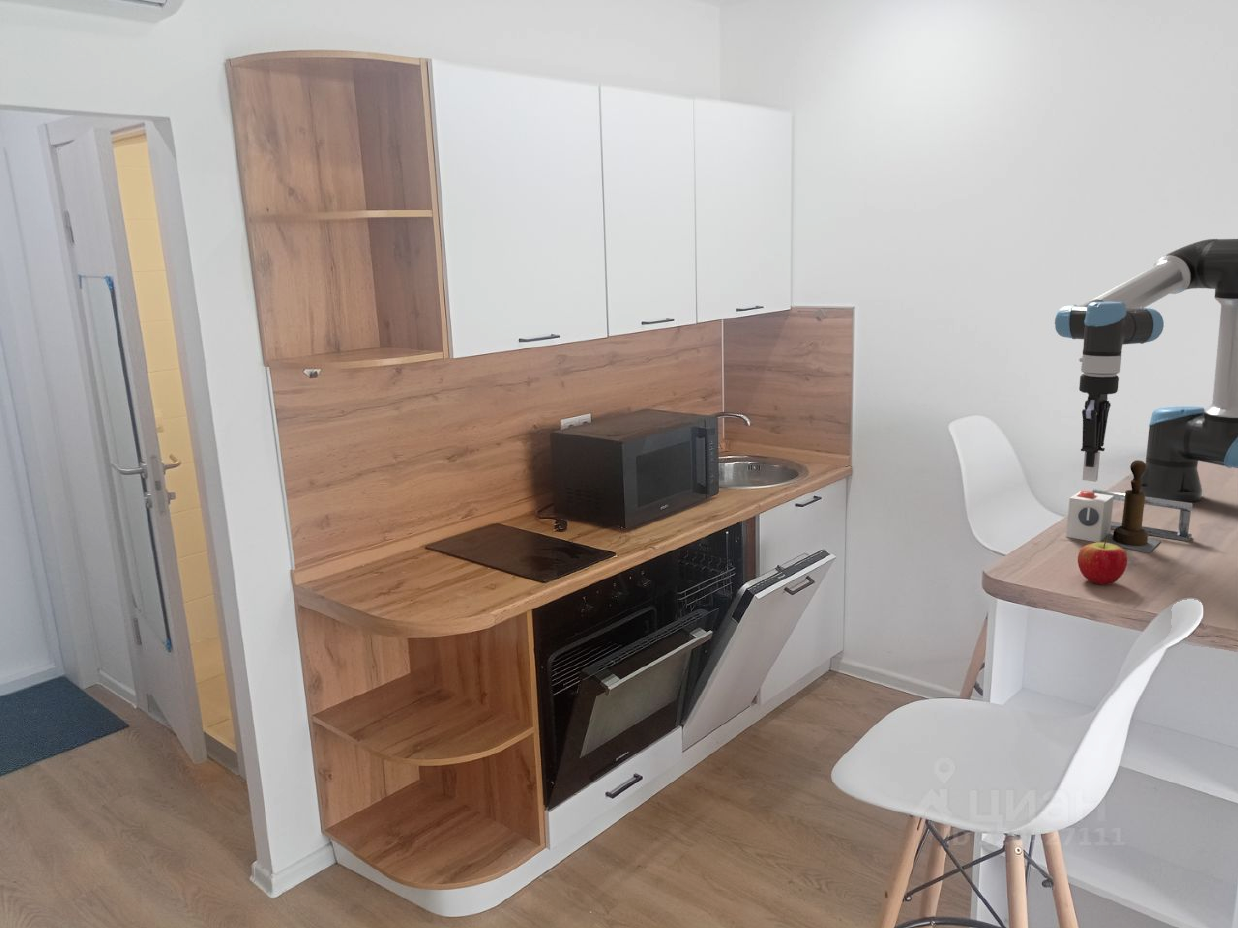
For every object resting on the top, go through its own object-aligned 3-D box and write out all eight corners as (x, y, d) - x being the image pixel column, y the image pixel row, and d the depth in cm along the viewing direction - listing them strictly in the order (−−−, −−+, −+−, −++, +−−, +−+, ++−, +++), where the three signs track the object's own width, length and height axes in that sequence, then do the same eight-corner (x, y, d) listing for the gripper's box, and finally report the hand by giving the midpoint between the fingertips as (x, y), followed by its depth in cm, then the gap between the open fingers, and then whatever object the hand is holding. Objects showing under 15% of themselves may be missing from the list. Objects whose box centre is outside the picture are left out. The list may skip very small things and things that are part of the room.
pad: (1110, 533, 214) (1111, 532, 214) (1160, 541, 208) (1160, 540, 208) (1098, 543, 207) (1098, 542, 207) (1149, 552, 201) (1149, 551, 200)
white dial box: (1076, 528, 218) (1080, 490, 216) (1109, 534, 214) (1113, 495, 212) (1064, 537, 211) (1068, 498, 210) (1098, 543, 207) (1102, 503, 205)
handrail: (1089, 520, 224) (1093, 487, 222) (1191, 537, 211) (1196, 501, 209) (1085, 524, 222) (1089, 490, 220) (1188, 541, 208) (1192, 505, 206)
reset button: (1080, 509, 214) (1082, 490, 213) (1093, 511, 212) (1095, 492, 211) (1076, 512, 212) (1078, 492, 211) (1090, 514, 210) (1092, 494, 209)
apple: (1088, 590, 179) (1094, 539, 177) (1068, 575, 187) (1073, 526, 185) (1132, 589, 179) (1138, 539, 177) (1109, 574, 187) (1115, 526, 185)
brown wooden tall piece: (1144, 538, 209) (1153, 458, 205) (1149, 547, 203) (1159, 465, 199) (1110, 535, 211) (1119, 456, 208) (1115, 544, 205) (1124, 463, 202)
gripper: (1089, 369, 213) (1080, 472, 218) (1072, 376, 203) (1062, 483, 208) (1126, 372, 208) (1116, 476, 213) (1110, 379, 198) (1099, 488, 204)
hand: (1089, 480), depth 211 cm, fingers closed
